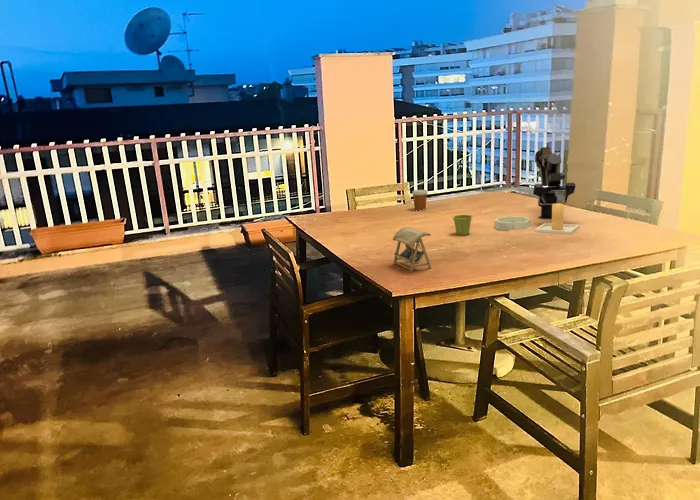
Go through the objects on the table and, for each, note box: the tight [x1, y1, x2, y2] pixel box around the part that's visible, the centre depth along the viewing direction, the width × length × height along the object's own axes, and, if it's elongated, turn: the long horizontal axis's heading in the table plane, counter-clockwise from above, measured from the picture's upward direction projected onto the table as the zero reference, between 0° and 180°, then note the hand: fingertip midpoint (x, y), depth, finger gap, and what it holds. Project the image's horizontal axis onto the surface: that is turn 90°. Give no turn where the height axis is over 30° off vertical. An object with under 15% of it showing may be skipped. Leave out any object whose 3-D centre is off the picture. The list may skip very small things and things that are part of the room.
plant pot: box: [452, 214, 473, 236], centre depth 261 cm, size 9×9×9 cm
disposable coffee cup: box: [411, 189, 429, 211], centre depth 329 cm, size 10×10×12 cm
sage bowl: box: [494, 215, 532, 232], centre depth 268 cm, size 16×16×4 cm
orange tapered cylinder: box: [551, 202, 565, 231], centre depth 253 cm, size 5×5×12 cm
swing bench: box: [392, 226, 432, 273], centre depth 213 cm, size 15×10×15 cm, turn 24°
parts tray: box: [534, 222, 580, 235], centre depth 255 cm, size 16×16×2 cm
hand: (555, 202), depth 258 cm, fingers open, 9 cm apart
